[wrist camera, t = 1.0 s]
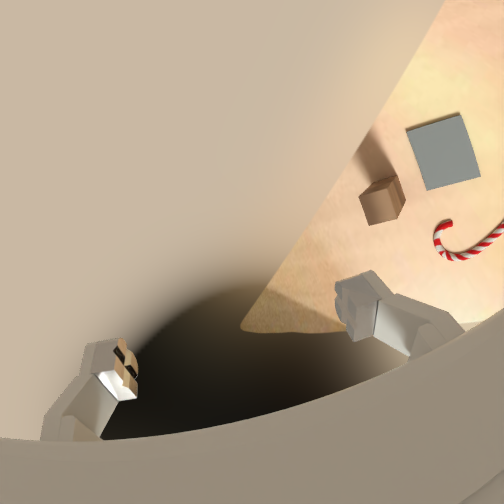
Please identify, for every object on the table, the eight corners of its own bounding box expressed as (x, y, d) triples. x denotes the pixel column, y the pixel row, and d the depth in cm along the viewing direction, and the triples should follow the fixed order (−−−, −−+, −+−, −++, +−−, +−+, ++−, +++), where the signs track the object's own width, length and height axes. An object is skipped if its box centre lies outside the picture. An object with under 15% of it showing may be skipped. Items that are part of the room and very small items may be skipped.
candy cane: (516, 240, 36) (443, 269, 46) (514, 237, 37) (443, 266, 47) (501, 196, 35) (427, 230, 45) (500, 195, 36) (427, 228, 46)
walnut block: (397, 175, 46) (386, 188, 38) (405, 200, 47) (397, 218, 39) (373, 182, 49) (358, 196, 41) (382, 206, 50) (368, 225, 42)
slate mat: (460, 114, 35) (460, 114, 35) (480, 175, 37) (480, 176, 37) (406, 131, 42) (406, 132, 41) (427, 190, 44) (426, 190, 43)
